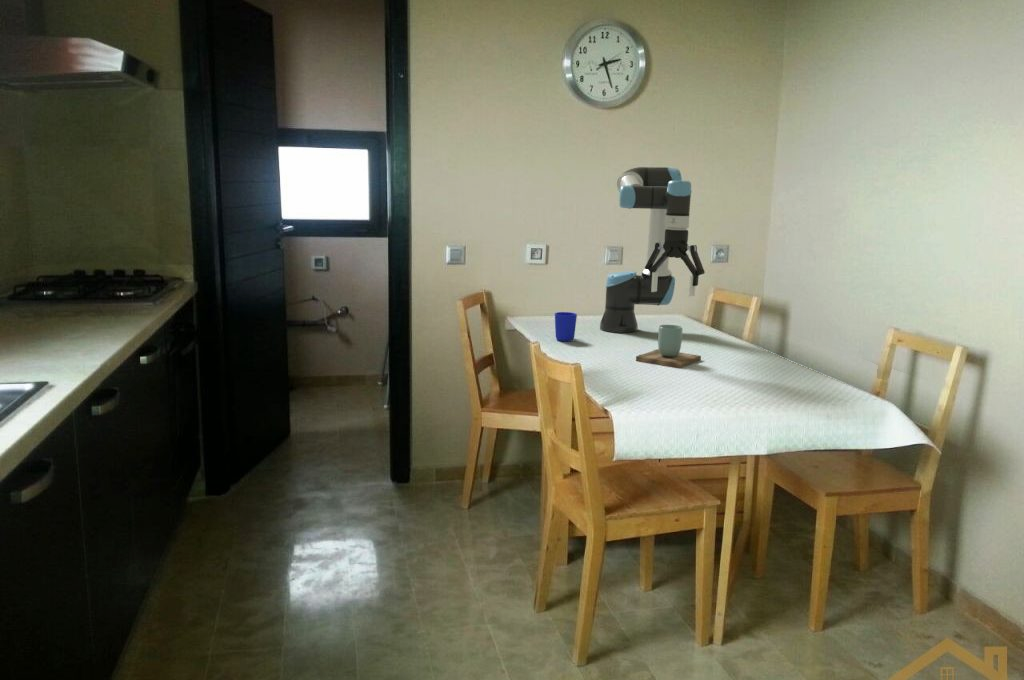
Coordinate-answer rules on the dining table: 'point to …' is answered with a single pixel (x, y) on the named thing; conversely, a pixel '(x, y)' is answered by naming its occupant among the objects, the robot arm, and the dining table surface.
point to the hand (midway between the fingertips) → (672, 293)
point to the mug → (565, 326)
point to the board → (668, 359)
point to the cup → (669, 340)
